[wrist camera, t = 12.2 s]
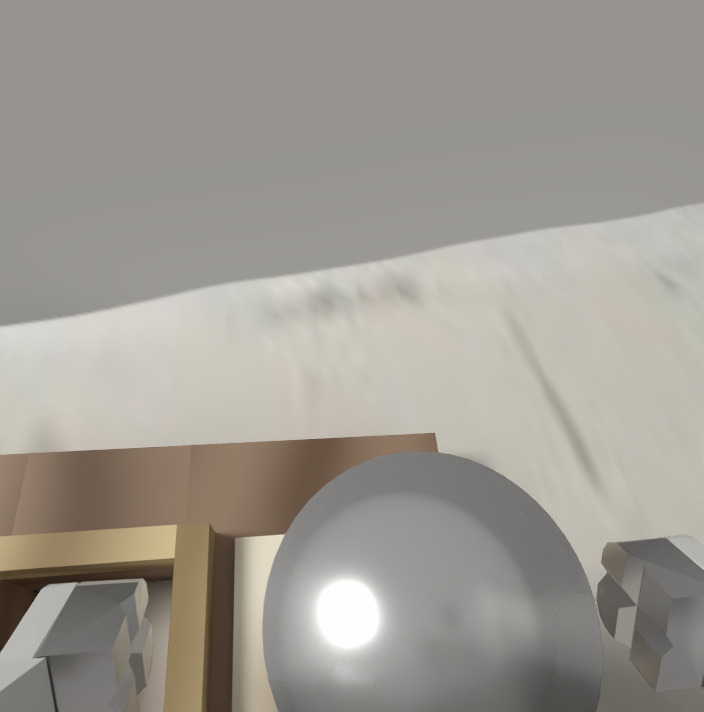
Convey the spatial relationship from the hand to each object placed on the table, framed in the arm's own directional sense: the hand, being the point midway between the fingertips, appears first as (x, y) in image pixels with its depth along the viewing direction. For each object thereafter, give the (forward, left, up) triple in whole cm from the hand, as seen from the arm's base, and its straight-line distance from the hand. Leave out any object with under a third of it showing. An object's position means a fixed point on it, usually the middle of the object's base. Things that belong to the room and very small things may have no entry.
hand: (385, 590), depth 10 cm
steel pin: (0, +1, -9) cm, 9 cm away
